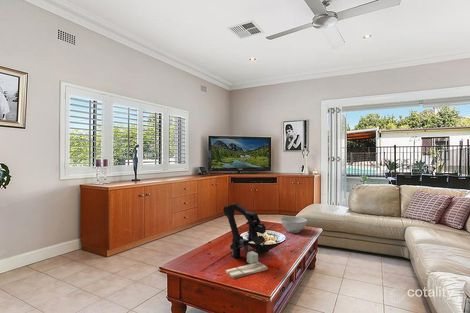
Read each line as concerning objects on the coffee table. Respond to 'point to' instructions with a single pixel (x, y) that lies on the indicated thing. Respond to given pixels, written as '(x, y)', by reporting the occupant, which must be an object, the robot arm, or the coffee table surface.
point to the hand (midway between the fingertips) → (252, 252)
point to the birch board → (246, 270)
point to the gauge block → (252, 257)
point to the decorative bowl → (293, 223)
